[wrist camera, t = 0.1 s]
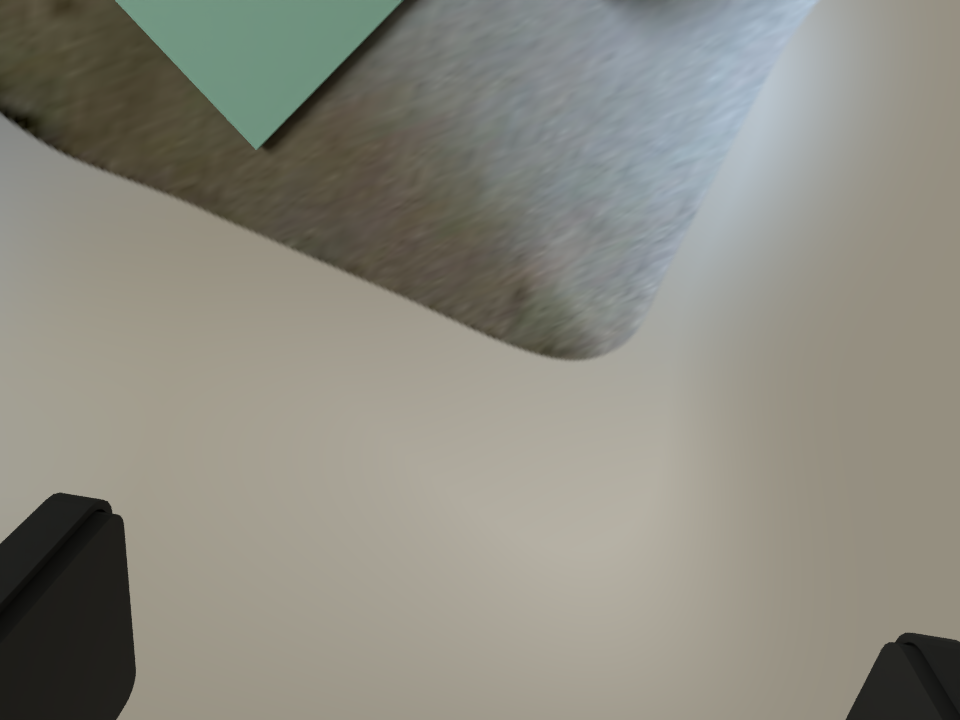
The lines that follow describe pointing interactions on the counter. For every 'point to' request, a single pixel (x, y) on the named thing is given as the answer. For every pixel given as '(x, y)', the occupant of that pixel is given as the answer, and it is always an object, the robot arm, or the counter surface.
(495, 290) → the counter surface
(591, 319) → the counter surface
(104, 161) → the counter surface
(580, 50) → the counter surface
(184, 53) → the play mat
